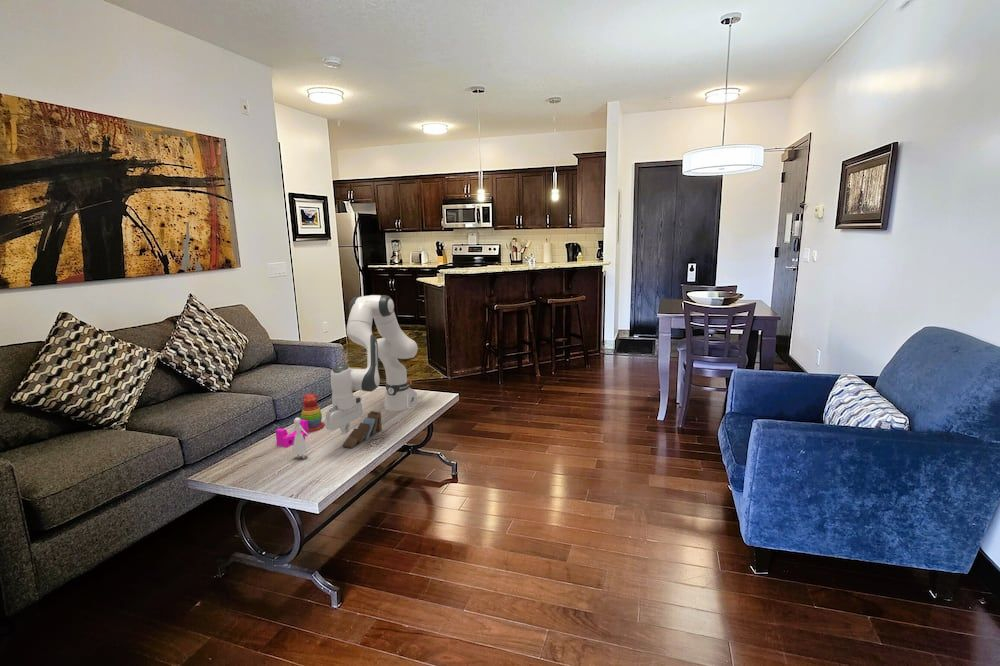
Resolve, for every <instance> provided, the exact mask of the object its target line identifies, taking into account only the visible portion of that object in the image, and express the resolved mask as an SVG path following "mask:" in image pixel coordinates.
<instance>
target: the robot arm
mask: <svg viewBox="0 0 1000 666" xmlns="http://www.w3.org/2000/svg"><path fill="white" fill-rule="evenodd" d="M348 305H349V306H348V308H349V316H348V319H347V324H346V334H347V335H346V336H347V337H348V339H349V340H350V341H351V342H353V343H355V344H357V345H359V346H362V347H363V348H365V350H366V358H367V359H366V360H367V366H366V368H351V367H350V366H349V365H347V364H339V365H336V366H334V367H332V369H331V370H330V387H331V392H332V394H331V401H332V407H330V408H329V409H328V410H327V412H326V414H325V419H324V420H325V421H324V423H325V426H324V428H325V429H326V430H327V431H331V432H332V431H333V432H334V431H336V430H338V429H340V430H341V434H342V435H345V434H347V433H349V432H350V427H351V422H353V421H354V420H356V419H358V418H361V417H362V415H363V404H362V396H361V397H360V396H356V395H354V392H353V391H363V392H375V390H376V389H378V387H380V383H381V382H380V381H381V377H380V371H379V370H380V369H379V360H380V362H381V363H382V365H383V367H384V370H385V371H384V372H385V380H386V381H385V382H386V383H385V392H384V403H383V407H384V409H385V410H387V411H391V412H400V411H405V410H411V409H414V408H415V407H416V406H417V405H418V404H420V403H421V402H422V399H421V398H418V395H417V392H416V391H415V390H414V389H413V388H411V387H410V385H412V380H408V376H407V375H408V374H407V368H406V366H405V365H404V364H402V363H401V362H400V361H399V359H401V360H407V359H412V358H415V356H416V355H417V353H418V350H419V348H418V344H417V342H416V341H415V340H414V339H411V338H410V337H409V336H408V335H407V334H406V333H405V332H404V331H403V330H402V329H401V326H400V325H399V324H400V323H398V319H397V316H396V313H395V303H394V299H392V297H390V296H389V295H385V294H382V295H381V294H370V295H363V296H360V295H359V296H354V297H352V299H351V300H350V301H349V304H348ZM373 321H374V324H375V327H376V329H377V333H378V334H379V335H380V336H381V338H377V337H376V335H374V334H373V329H372V327H373Z"/></svg>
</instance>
